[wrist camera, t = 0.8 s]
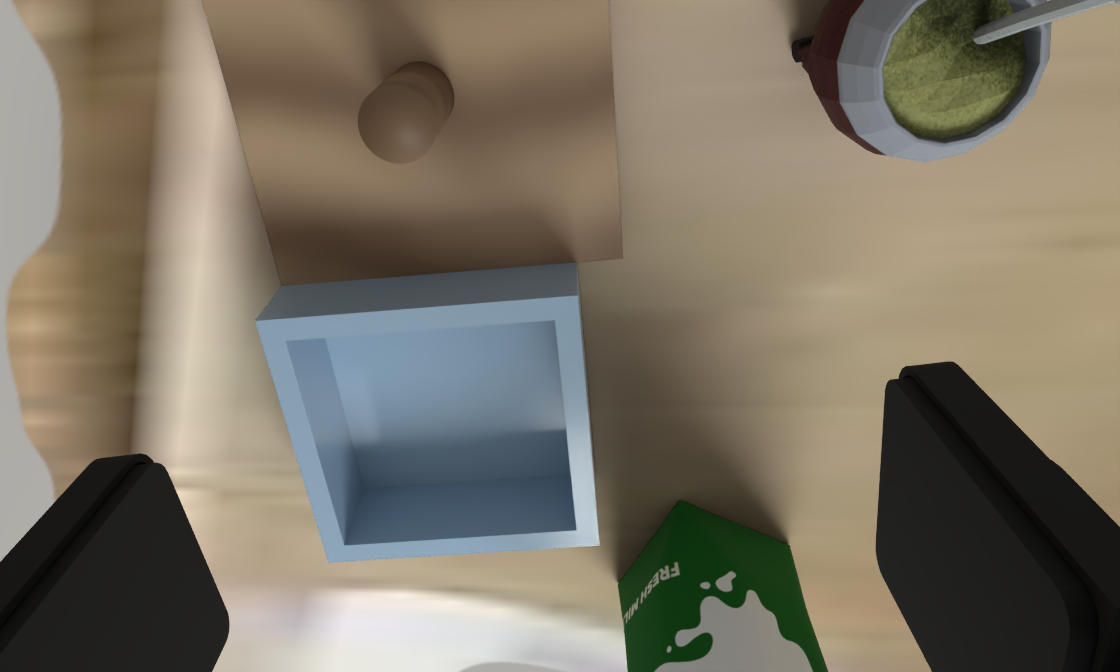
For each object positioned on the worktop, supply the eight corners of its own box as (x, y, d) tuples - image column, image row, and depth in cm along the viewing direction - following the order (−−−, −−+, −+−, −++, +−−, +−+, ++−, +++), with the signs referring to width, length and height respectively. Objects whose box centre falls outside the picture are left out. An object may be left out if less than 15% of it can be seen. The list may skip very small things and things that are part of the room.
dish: (293, 272, 36) (254, 321, 31) (575, 248, 35) (577, 295, 31) (353, 495, 42) (328, 562, 37) (595, 478, 41) (599, 545, 37)
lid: (185, -103, 28) (98, -109, 23) (599, -147, 28) (606, -163, 22) (289, 277, 35) (240, 339, 30) (621, 250, 35) (631, 309, 29)
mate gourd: (789, 139, 33) (941, 285, 20) (770, -66, 29) (939, -58, 16) (972, 99, 32) (1260, 222, 19) (975, -117, 29) (1333, -154, 15)
